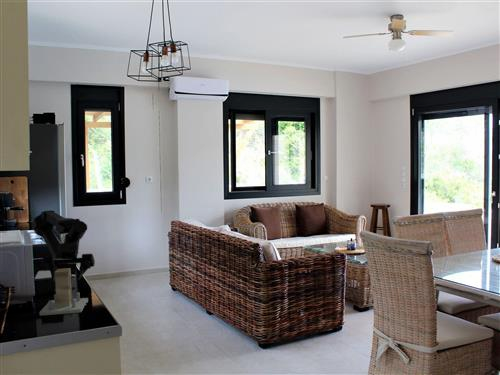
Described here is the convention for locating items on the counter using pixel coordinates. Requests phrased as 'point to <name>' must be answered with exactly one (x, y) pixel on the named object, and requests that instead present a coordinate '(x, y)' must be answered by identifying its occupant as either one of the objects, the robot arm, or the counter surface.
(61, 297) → the maple block
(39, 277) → the phone case
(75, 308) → the base plate
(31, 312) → the counter surface
